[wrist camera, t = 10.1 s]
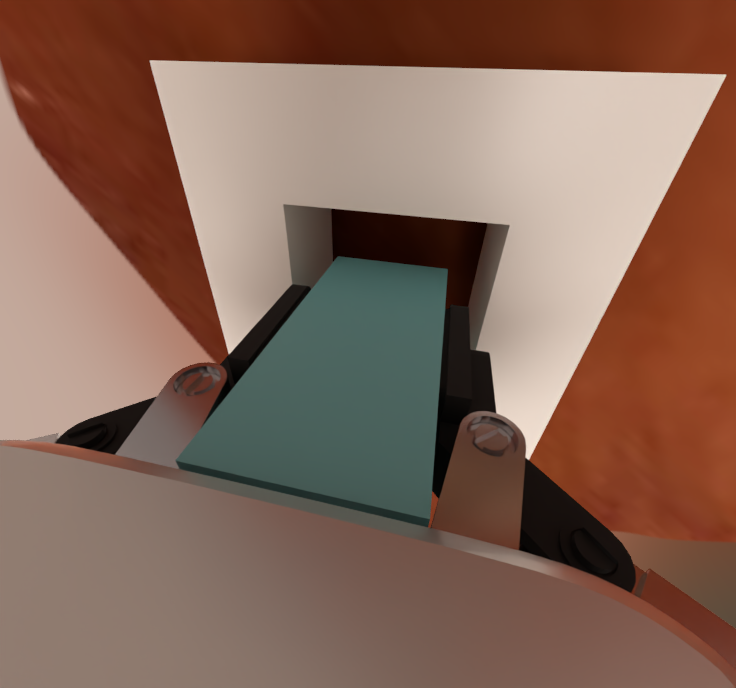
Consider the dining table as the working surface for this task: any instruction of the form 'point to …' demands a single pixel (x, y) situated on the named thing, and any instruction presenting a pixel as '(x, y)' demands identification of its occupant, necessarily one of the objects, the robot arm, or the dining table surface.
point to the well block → (436, 188)
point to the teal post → (341, 396)
